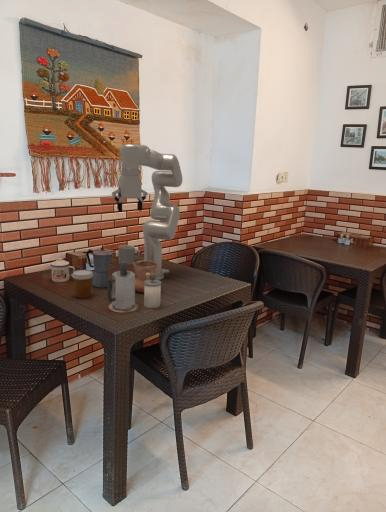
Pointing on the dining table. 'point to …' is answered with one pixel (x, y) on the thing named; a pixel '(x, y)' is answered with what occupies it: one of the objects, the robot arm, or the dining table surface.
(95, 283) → the moka pot
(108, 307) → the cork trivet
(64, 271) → the teacup with lid
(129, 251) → the coffee mug
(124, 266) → the plunger
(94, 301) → the dining table surface
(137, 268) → the ceramic jug
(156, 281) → the cream press
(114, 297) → the steel press
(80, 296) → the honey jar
